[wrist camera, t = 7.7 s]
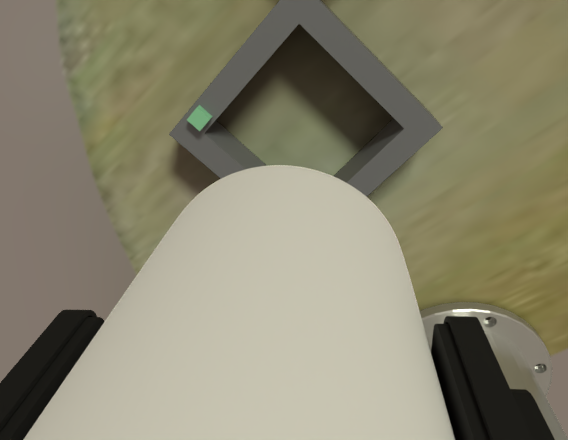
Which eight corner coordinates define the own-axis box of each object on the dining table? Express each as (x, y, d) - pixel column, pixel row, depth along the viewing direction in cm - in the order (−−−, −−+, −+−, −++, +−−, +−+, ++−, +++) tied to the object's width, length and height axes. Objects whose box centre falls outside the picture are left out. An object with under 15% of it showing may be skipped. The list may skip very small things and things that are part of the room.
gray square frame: (431, 114, 28) (445, 130, 25) (307, 228, 32) (305, 256, 29) (300, -21, 26) (296, -22, 23) (183, 120, 30) (165, 137, 26)
